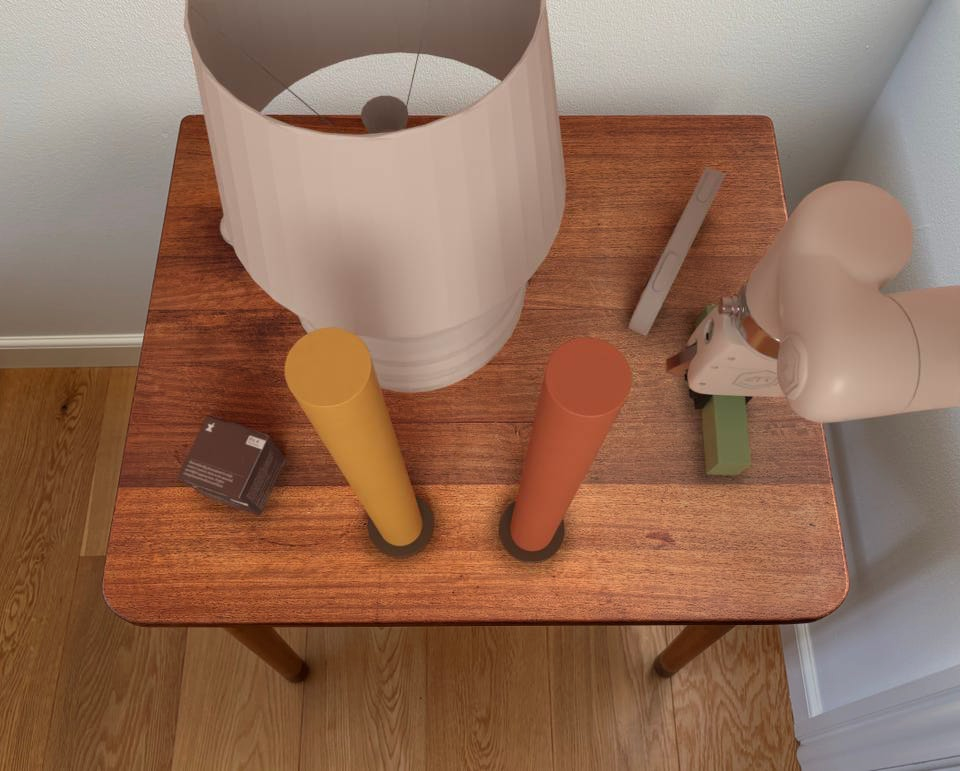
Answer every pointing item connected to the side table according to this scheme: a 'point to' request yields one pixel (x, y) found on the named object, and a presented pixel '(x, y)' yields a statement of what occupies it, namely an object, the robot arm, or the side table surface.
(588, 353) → the terracotta rod
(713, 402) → the green bar
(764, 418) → the side table surface
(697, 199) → the grey flat slab
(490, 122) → the table lamp
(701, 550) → the side table surface
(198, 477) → the box
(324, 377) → the ochre rod
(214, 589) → the side table surface
